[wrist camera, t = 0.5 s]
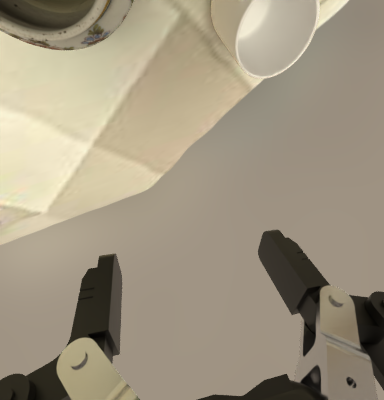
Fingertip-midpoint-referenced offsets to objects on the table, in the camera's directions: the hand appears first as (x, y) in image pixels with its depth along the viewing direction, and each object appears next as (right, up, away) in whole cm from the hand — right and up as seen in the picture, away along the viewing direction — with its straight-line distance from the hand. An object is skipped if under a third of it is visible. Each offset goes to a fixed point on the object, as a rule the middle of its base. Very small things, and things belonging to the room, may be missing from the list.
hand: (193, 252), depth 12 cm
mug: (+5, +28, +14) cm, 32 cm away
